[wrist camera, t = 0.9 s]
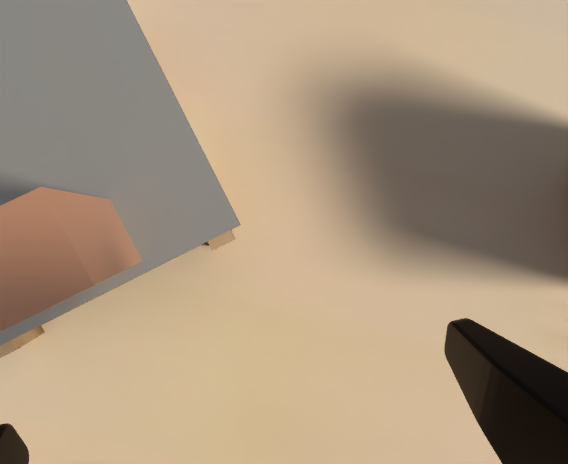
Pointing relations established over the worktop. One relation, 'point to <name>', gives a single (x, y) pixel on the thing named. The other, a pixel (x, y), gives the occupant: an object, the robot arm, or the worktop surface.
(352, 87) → the worktop surface
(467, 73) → the worktop surface
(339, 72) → the worktop surface
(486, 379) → the robot arm
